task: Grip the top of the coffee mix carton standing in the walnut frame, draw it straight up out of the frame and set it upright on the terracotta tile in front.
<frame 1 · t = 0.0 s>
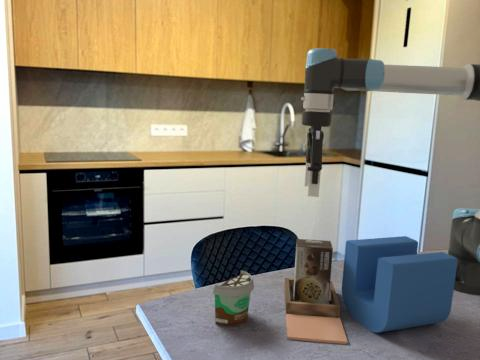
hand: (311, 191, 122), 28 cm above the table, tool pointing down, fingers open, 13 cm apart
walnut frame: (309, 302, 120), on the table
terracotta tile: (314, 329, 105), on the table
coffee box: (309, 302, 120), on the table
food container: (237, 321, 108), on the table
block: (391, 319, 113), on the table
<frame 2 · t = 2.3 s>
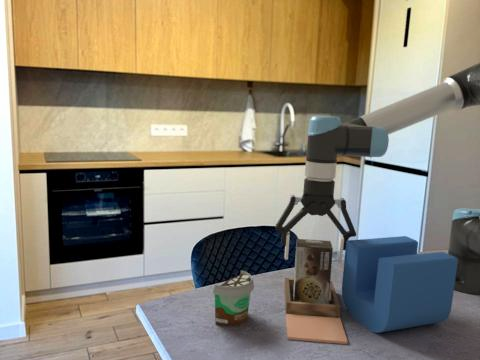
hand: (312, 259, 118), 12 cm above the table, tool pointing down, fingers open, 13 cm apart
nothing on the table moved.
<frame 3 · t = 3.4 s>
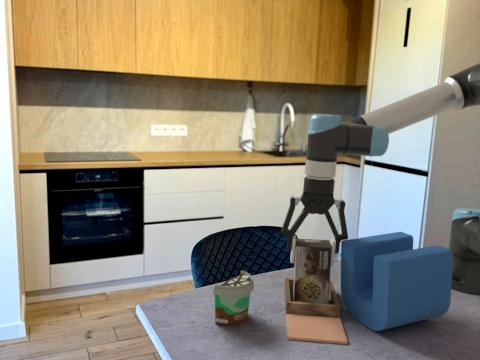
hand: (311, 262, 118), 11 cm above the table, tool pointing down, fingers closed on coffee box, 9 cm apart
coffee box: (309, 302, 120), on the table, touching gripper
block: (392, 316, 113), point 1 cm above the table, touching hand
everything else where it was.
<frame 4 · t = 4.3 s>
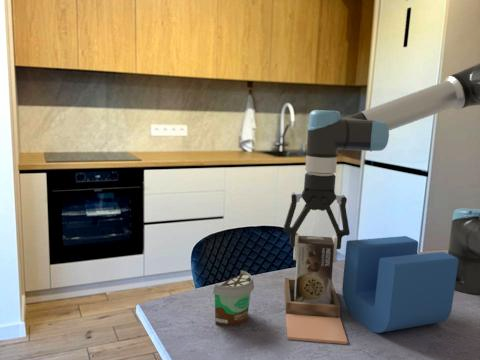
hand: (314, 259, 118), 12 cm above the table, tool pointing down, fingers closed on coffee box, 9 cm apart
coffee box: (311, 299, 120), point 1 cm above the table, touching gripper
block: (392, 319, 113), on the table
everything else where it was.
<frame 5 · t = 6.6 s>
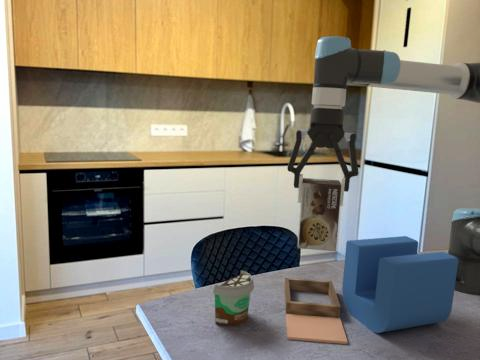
hand: (319, 203, 109), 28 cm above the table, tool pointing down, fingers closed on coffee box, 9 cm apart
coffee box: (315, 247, 111), point 17 cm above the table, touching gripper
everything else where it was.
when the fingers open (12 cm above the table, at t = 9.7 s): coffee box stays where it is, resting on terracotta tile.
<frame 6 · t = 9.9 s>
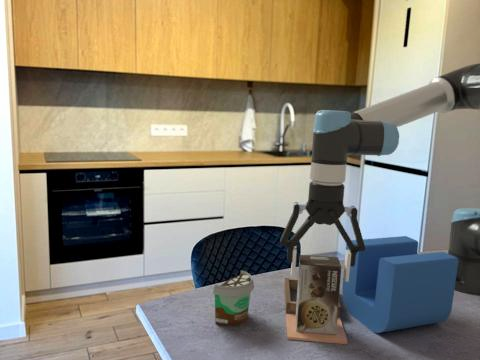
hand: (319, 277, 103), 13 cm above the table, tool pointing down, fingers open, 11 cm apart
coffee box: (314, 327, 105), resting on terracotta tile
everything else where it was.
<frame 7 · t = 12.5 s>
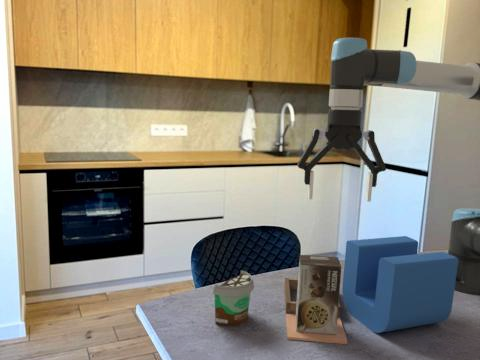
hand: (338, 199, 109), 29 cm above the table, tool pointing down, fingers open, 13 cm apart
nothing on the table moved.
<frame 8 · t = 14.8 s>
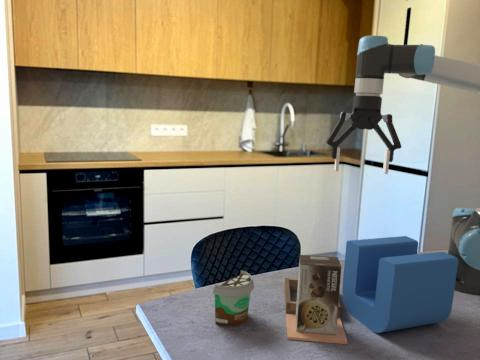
hand: (360, 172, 129), 33 cm above the table, tool pointing down, fingers open, 13 cm apart
nothing on the table moved.
at the end: coffee box 0.1 cm from the terracotta tile (horizontally); coffee box on the table; coffee box tilted 0° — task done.
